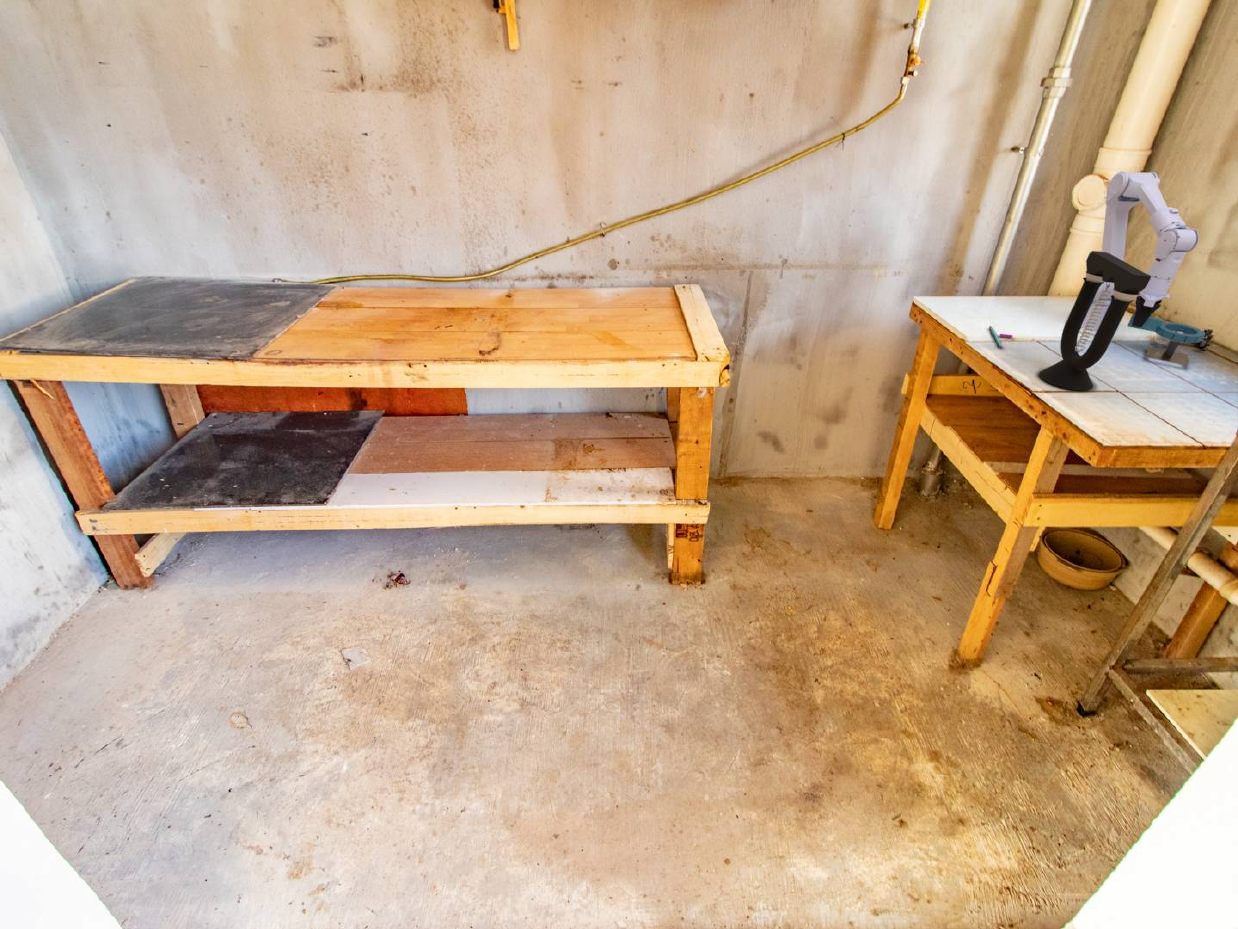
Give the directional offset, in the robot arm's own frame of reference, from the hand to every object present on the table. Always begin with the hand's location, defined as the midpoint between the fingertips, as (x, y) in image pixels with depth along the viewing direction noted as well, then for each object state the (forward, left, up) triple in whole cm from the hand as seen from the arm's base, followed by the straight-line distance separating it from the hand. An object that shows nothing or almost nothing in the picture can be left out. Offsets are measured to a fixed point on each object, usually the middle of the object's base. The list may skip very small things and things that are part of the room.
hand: (1137, 324), depth 180 cm
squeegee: (-29, -13, -8) cm, 33 cm away
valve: (+12, +12, -8) cm, 19 cm away
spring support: (-11, -31, -8) cm, 34 cm away
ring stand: (+10, 0, -8) cm, 12 cm away
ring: (+6, 0, -1) cm, 6 cm away
